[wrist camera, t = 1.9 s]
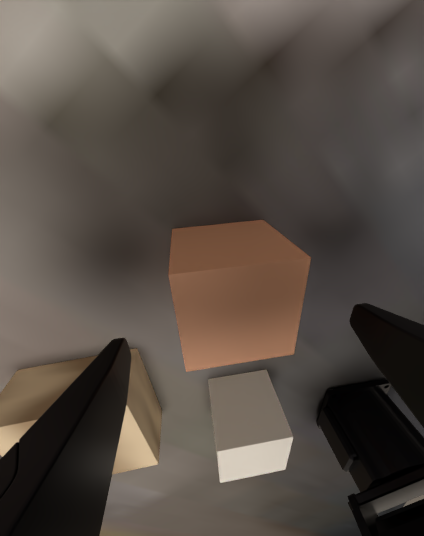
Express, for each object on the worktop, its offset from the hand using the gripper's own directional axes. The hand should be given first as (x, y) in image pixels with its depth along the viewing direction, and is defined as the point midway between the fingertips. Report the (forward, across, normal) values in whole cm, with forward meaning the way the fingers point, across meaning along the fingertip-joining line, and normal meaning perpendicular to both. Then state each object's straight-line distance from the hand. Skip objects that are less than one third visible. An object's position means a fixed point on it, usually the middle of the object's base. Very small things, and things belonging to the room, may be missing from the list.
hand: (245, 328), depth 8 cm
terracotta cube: (+5, 0, 0) cm, 5 cm away
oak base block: (+6, +10, +10) cm, 15 cm away
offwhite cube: (+5, -1, +13) cm, 14 cm away
